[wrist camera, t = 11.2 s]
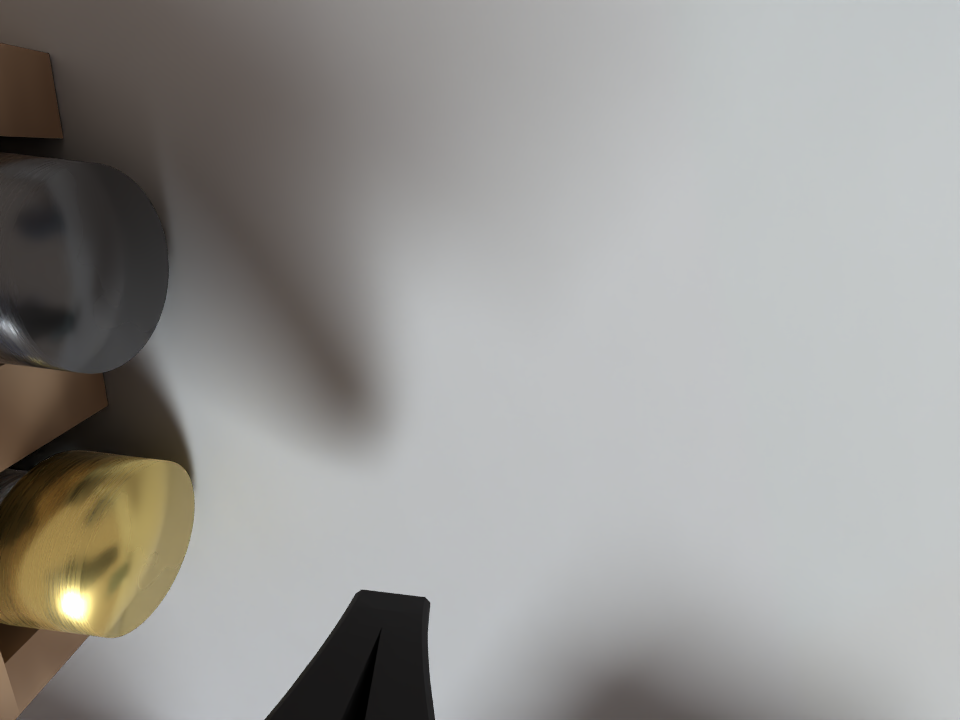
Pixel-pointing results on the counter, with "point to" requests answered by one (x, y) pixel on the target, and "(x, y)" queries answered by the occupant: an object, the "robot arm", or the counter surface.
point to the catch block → (35, 390)
